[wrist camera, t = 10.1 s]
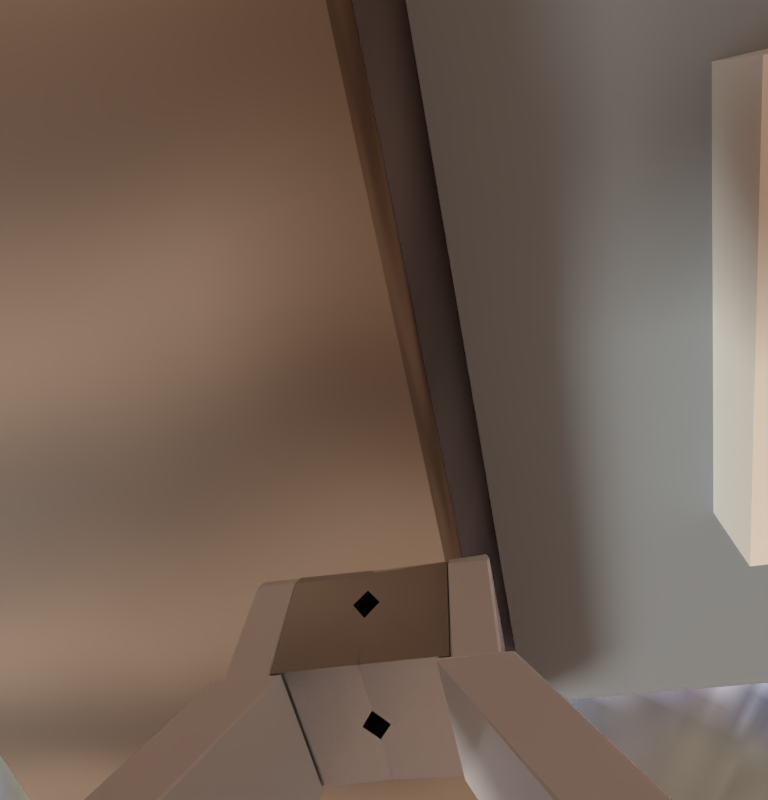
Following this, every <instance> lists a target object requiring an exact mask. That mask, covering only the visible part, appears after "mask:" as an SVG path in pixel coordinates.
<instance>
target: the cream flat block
mask: <svg viewBox="0 0 768 800" xmlns="http://www.w3.org/2000/svg"><path fill="white" fill-rule="evenodd" d="M712 283H713V513H714V514H715V516H716V517H717V519H718V520H719V522H720V523H721V525H722V526H723V528H724V529H725V531H726V532H727V533H728V535H729V536H730V538H731V539H732V541H733V542H734V544H735V545H736V547H737V548H738V550H739V551H740V553H741V554H742V556H743V557H744V559H745V560H746V562H747V563H748V565H749V566H759V565H768V49H764V50H759V51H755V52H751V53H746V54H742V55H738V56H733V57H729V58H725V59H720V60H716V61H712Z"/></svg>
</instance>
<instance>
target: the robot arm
mask: <svg viewBox="0 0 768 800" xmlns="http://www.w3.org/2000/svg"><path fill="white" fill-rule="evenodd" d="M456 776H464V777H465V781H466V782H467V784H468V785H469V787H470V788H471V790H472V791H473V793H474V794H475V796H476V797H477V799H478V800H672V799H671V798H670V797H669V796H668V795H667V794H666V793H665V792H663V791H662V790H661V789H660V788H659V787H658V786H657V785H656V784H655V783H654V782H653V781H652V780H651V779H650V778H649V777H648V776H647V775H645V774H644V773H643V772H642V771H641V770H640V769H639V768H638V767H637V766H636V765H635V764H634V763H633V762H632V761H631V760H630V759H629V758H627V757H626V756H625V755H624V754H623V753H622V752H621V751H620V750H619V749H618V748H617V747H616V746H615V745H614V744H613V743H612V742H611V741H609V740H608V739H607V738H606V737H605V736H604V735H603V734H602V733H601V732H600V731H599V730H598V729H597V728H596V727H595V726H594V725H593V724H591V723H590V722H589V721H588V720H587V719H586V718H585V717H584V716H583V715H582V714H581V713H580V712H579V711H578V710H577V709H576V708H575V707H573V706H572V705H571V704H570V703H569V702H568V701H567V700H566V699H565V698H564V697H563V696H562V695H561V694H560V693H559V692H558V691H557V690H555V689H554V688H553V687H552V686H551V685H550V684H549V683H548V682H547V681H546V680H545V679H544V678H543V677H542V676H541V675H540V674H539V673H537V672H536V671H535V670H534V669H533V668H532V667H531V666H530V665H529V664H528V663H527V662H526V661H525V660H524V659H523V658H522V657H521V656H519V655H518V654H517V653H516V652H515V651H505V645H504V639H503V633H502V627H501V622H500V616H499V610H498V604H497V599H496V593H495V587H494V581H493V576H492V570H491V564H490V559H489V557H488V555H487V554H483V555H476V556H470V557H463V558H457V559H450V560H449V561H445V562H437V563H430V564H422V565H414V566H407V567H399V568H391V569H384V570H376V571H373V570H372V571H362V572H353V573H343V574H333V575H323V576H314V577H304V578H300V579H289V580H280V581H271V582H264V583H263V584H262V585H261V586H260V587H259V588H258V589H257V591H256V593H255V596H254V599H253V602H252V604H251V607H250V610H249V613H248V615H247V618H246V621H245V624H244V626H243V629H242V632H241V635H240V637H239V640H238V643H237V646H236V648H235V651H234V654H233V657H232V659H231V662H230V665H229V668H228V670H227V673H226V676H225V679H224V681H217V682H212V683H211V684H210V685H209V686H207V687H206V688H205V689H204V690H203V691H202V692H201V693H200V694H199V695H198V696H197V697H195V698H194V699H193V700H192V701H191V702H190V703H189V704H188V705H187V706H186V707H185V708H183V709H182V710H181V711H180V712H179V713H178V714H177V715H176V716H175V717H174V718H173V719H171V720H170V721H169V722H168V723H167V724H166V725H165V726H164V727H163V728H162V729H161V730H159V731H158V732H157V733H156V734H155V735H154V736H153V737H152V738H151V739H150V740H149V741H147V742H146V743H145V744H144V745H143V746H142V747H141V748H140V749H139V750H138V751H137V752H135V753H134V754H133V755H132V756H131V757H130V758H129V759H128V760H127V761H126V762H125V763H123V764H122V765H121V766H120V767H119V768H118V769H117V770H116V771H115V772H114V773H113V774H112V775H110V776H109V777H108V778H107V779H106V780H105V781H104V782H103V783H102V784H101V785H100V786H98V787H97V788H96V789H95V790H94V791H93V792H92V793H91V794H90V795H89V796H88V797H86V798H85V799H84V800H319V798H320V796H321V795H322V793H323V792H324V791H323V788H322V787H327V786H336V785H346V784H355V783H364V782H373V781H383V780H392V779H413V778H434V777H456Z"/></svg>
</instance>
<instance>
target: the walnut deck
mask: <svg viewBox="0 0 768 800" xmlns="http://www.w3.org/2000/svg"><path fill="white" fill-rule="evenodd" d="M457 558H462V553H461V548H460V543H459V538H458V533H457V528H456V523H455V518H454V513H453V508H452V503H451V498H450V493H449V488H448V483H447V477H446V472H445V467H444V462H443V457H442V452H441V447H440V442H439V437H438V432H437V427H436V422H435V417H434V412H433V407H432V402H431V397H430V392H429V387H428V382H427V377H426V372H425V367H424V362H423V357H422V352H421V347H420V342H419V337H418V332H417V327H416V322H415V317H414V312H413V307H412V302H411V297H410V291H409V286H408V281H407V276H406V271H405V266H404V261H403V256H402V251H401V246H400V241H399V236H398V231H397V226H396V221H395V216H394V211H393V206H392V201H391V196H390V191H389V186H388V181H387V176H386V171H385V166H384V161H383V156H382V151H381V146H380V141H379V136H378V131H377V126H376V121H375V116H374V111H373V105H372V100H371V95H370V90H369V85H368V80H367V75H366V70H365V65H364V60H363V55H362V50H361V45H360V40H359V35H358V30H357V25H356V20H355V15H354V10H353V5H352V0H0V755H1V757H2V758H3V760H4V761H5V763H6V764H7V766H8V767H9V769H10V770H11V772H12V773H13V775H14V776H15V778H16V779H17V781H18V782H19V784H20V785H21V786H22V788H23V789H24V791H25V792H26V794H27V795H28V797H29V798H30V800H84V799H85V798H86V797H88V796H89V795H90V794H91V793H92V792H93V791H94V790H95V789H96V788H97V787H98V786H100V785H101V784H102V783H103V782H104V781H105V780H106V779H107V778H108V777H109V776H110V775H112V774H113V773H114V772H115V771H116V770H117V769H118V768H119V767H120V766H121V765H122V764H123V763H125V762H126V761H127V760H128V759H129V758H130V757H131V756H132V755H133V754H134V753H135V752H137V751H138V750H139V749H140V748H141V747H142V746H143V745H144V744H145V743H146V742H147V741H149V740H150V739H151V738H152V737H153V736H154V735H155V734H156V733H157V732H158V731H159V730H161V729H162V728H163V727H164V726H165V725H166V724H167V723H168V722H169V721H170V720H171V719H173V718H174V717H175V716H176V715H177V714H178V713H179V712H180V711H181V710H182V709H183V708H185V707H186V706H187V705H188V704H189V703H190V702H191V701H192V700H193V699H194V698H195V697H197V696H198V695H199V694H200V693H201V692H202V691H203V690H204V689H205V688H206V687H207V686H209V685H210V684H211V683H212V682H217V681H224V679H225V676H226V673H227V670H228V668H229V665H230V662H231V659H232V657H233V654H234V651H235V648H236V646H237V643H238V640H239V637H240V635H241V632H242V629H243V626H244V624H245V621H246V618H247V615H248V613H249V610H250V607H251V604H252V602H253V599H254V596H255V593H256V591H257V589H258V588H259V587H260V586H261V585H262V584H263V583H264V582H271V581H280V580H289V579H300V578H304V577H314V576H323V575H333V574H343V573H353V572H362V571H372V570H373V571H376V570H384V569H391V568H399V567H407V566H414V565H422V564H430V563H437V562H445V561H449V560H450V559H457ZM322 788H323V791H324V792H323V793H322V795H321V796H320V798H319V800H478V799H477V797H476V796H475V794H474V793H473V791H472V790H471V788H470V787H469V785H468V784H467V782H466V781H465V777H464V776H456V777H434V778H413V779H392V780H383V781H373V782H364V783H355V784H346V785H336V786H327V787H322Z"/></svg>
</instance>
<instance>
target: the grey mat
mask: <svg viewBox="0 0 768 800" xmlns="http://www.w3.org/2000/svg"><path fill="white" fill-rule="evenodd" d="M406 5H407V11H408V17H409V23H410V29H411V35H412V41H413V47H414V53H415V59H416V65H417V71H418V76H419V82H420V88H421V94H422V100H423V106H424V112H425V118H426V124H427V130H428V136H429V142H430V147H431V153H432V159H433V165H434V171H435V177H436V183H437V189H438V195H439V201H440V207H441V213H442V218H443V224H444V230H445V236H446V242H447V248H448V254H449V260H450V266H451V272H452V278H453V284H454V290H455V295H456V301H457V307H458V313H459V319H460V325H461V331H462V337H463V343H464V349H465V355H466V361H467V366H468V372H469V378H470V384H471V390H472V396H473V402H474V408H475V414H476V420H477V426H478V432H479V437H480V443H481V449H482V455H483V461H484V467H485V473H486V479H487V485H488V491H489V497H490V503H491V508H492V514H493V520H494V526H495V532H496V538H497V544H498V550H499V556H500V562H501V568H502V574H503V579H504V585H505V591H506V597H507V603H508V609H509V615H510V621H511V627H512V633H513V639H514V645H515V650H516V653H517V654H518V655H519V656H521V657H522V658H523V659H524V660H525V661H526V662H527V663H528V664H529V665H530V666H531V667H532V668H533V669H534V670H535V671H536V672H537V673H539V674H540V675H541V676H542V677H543V678H544V679H545V680H546V681H547V682H548V683H549V684H550V685H551V686H552V687H553V688H554V689H555V690H557V691H558V692H559V693H560V694H561V695H562V696H563V697H564V698H565V699H566V700H572V699H584V698H595V697H607V696H618V695H630V694H641V693H653V692H664V691H676V690H687V689H699V688H710V687H722V686H733V685H745V684H756V683H768V565H759V566H749V565H748V563H747V562H746V560H745V559H744V557H743V556H742V554H741V553H740V551H739V550H738V548H737V547H736V545H735V544H734V542H733V541H732V539H731V538H730V536H729V535H728V533H727V532H726V531H725V529H724V528H723V526H722V525H721V523H720V522H719V520H718V519H717V517H716V516H715V514H714V513H713V283H712V61H716V60H720V59H725V58H729V57H733V56H738V55H742V54H746V53H751V52H755V51H759V50H764V49H768V0H406Z"/></svg>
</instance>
